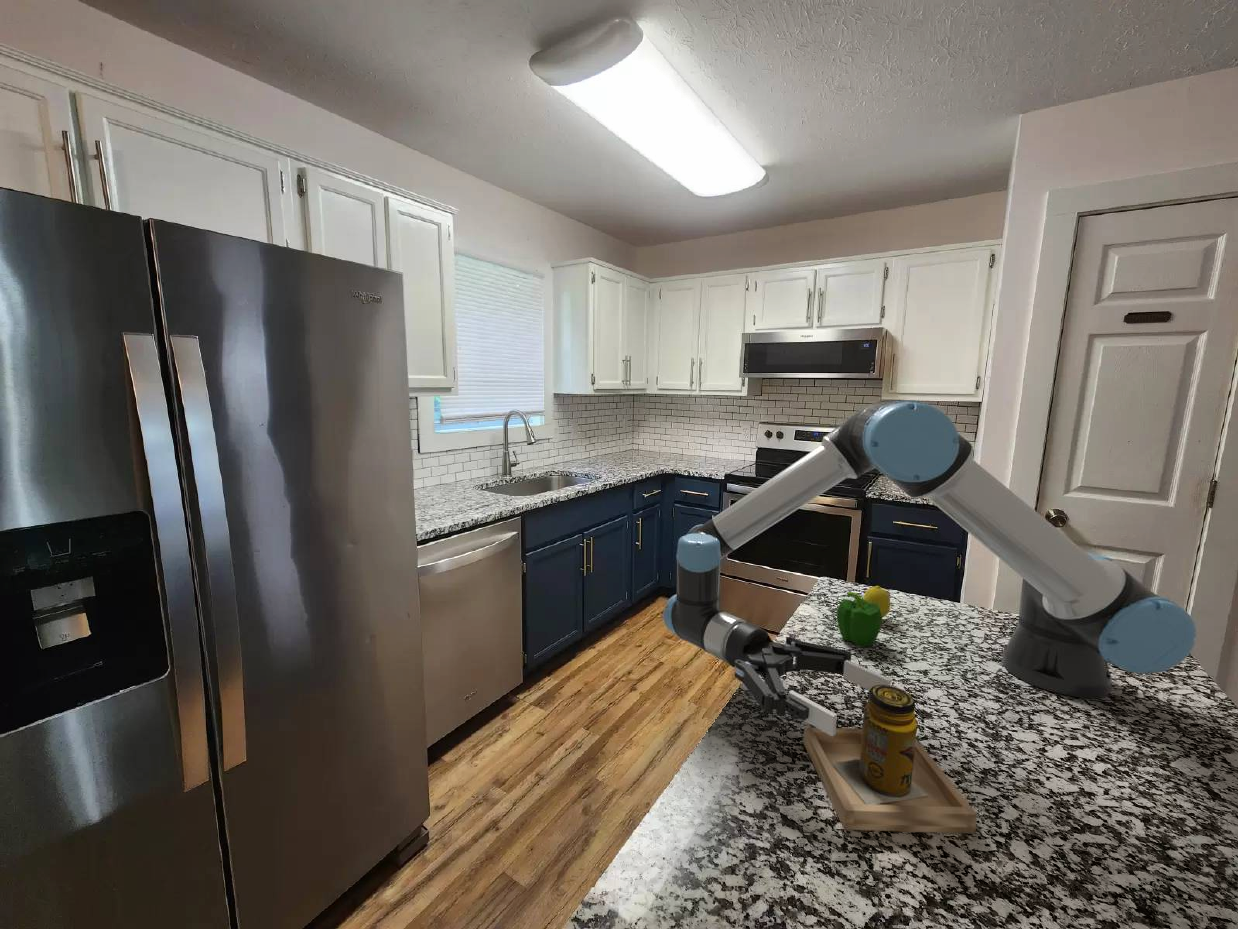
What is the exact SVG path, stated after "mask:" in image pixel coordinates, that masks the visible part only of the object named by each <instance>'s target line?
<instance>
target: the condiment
mask: <svg viewBox="0 0 1238 929" xmlns="http://www.w3.org/2000/svg"><path fill="white" fill-rule="evenodd" d="M915 709H916V701H915V699H914V697H913V696H912V695H911V694H909V692H907V691H906V690H903V689H901V688H899V687H897V686H892V685H890V686H889V685H875V686H873V687H872V688H871V689H870V691H869V690H868V699H867V705H865V707H864V709H863V715H862V716H863V721H862V728H861V729H862V741H861V754H860V759H859V760H857V759H854V760H850V761H844V762H834V763H833V765H834V766H835V767H836V769H837V770H838V771H839V773H840V774H841V775H842V776H843V778H844V779H845V780H846V781H847V782H848V784H849V785H850V786H851V788H852V789H853V790H855V792H856V793H857V794H858V795H859V797H860V798H861V799H862V800H863V801H864V802H865V803H866V804H872V805H874V804H880V803H888V802H893V801H902V800H907V799H914V798H918V797H924V796H927V794H926V793H925V792H924V791H923V790H922V789H921V788H919V786H918V785H916V784H915V783H914V782H913V781H912V773H913V765H914V750H915V740H916V739H917V732H918V730H917V728H918V727H917V726H918V724H917V720H916V718H915V716H916V715H915V714H916V713H915Z"/></svg>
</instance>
